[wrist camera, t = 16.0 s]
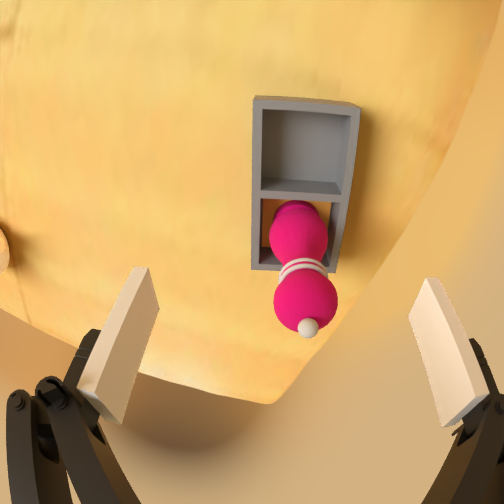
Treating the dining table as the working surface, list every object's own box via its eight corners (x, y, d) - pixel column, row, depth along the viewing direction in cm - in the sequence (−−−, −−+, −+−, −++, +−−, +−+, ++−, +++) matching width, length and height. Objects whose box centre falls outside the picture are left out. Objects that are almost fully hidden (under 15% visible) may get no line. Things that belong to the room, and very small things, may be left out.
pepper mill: (258, 215, 41) (247, 330, 25) (302, 185, 38) (323, 290, 22) (290, 251, 44) (296, 369, 28) (332, 224, 41) (364, 338, 25)
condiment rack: (253, 251, 46) (251, 271, 42) (255, 95, 33) (252, 99, 29) (329, 254, 45) (334, 275, 41) (350, 102, 33) (361, 108, 29)
